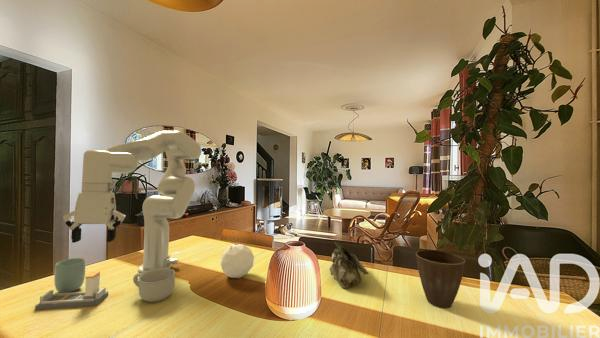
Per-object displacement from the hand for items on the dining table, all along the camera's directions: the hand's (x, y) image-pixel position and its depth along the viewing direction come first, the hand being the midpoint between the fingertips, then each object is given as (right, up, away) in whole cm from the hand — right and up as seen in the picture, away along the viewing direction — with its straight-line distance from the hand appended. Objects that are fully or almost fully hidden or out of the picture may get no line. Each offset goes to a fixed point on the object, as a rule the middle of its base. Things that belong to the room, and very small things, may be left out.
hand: (93, 241), depth 82 cm
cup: (-14, -19, +6) cm, 24 cm away
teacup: (+17, -20, +4) cm, 27 cm away
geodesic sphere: (+41, -21, +23) cm, 51 cm away
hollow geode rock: (+87, -23, +26) cm, 93 cm away
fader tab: (-1, -18, 0) cm, 18 cm away
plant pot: (+115, -23, +6) cm, 117 cm away
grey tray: (-5, -19, -1) cm, 20 cm away
